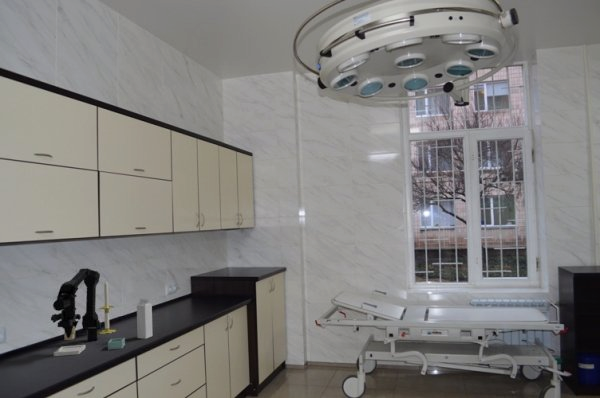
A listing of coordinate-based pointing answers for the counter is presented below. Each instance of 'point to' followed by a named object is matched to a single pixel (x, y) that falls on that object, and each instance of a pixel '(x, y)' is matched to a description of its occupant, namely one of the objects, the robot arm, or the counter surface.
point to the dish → (69, 350)
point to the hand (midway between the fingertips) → (69, 336)
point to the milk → (144, 319)
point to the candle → (106, 311)
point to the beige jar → (71, 334)
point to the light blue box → (116, 343)
